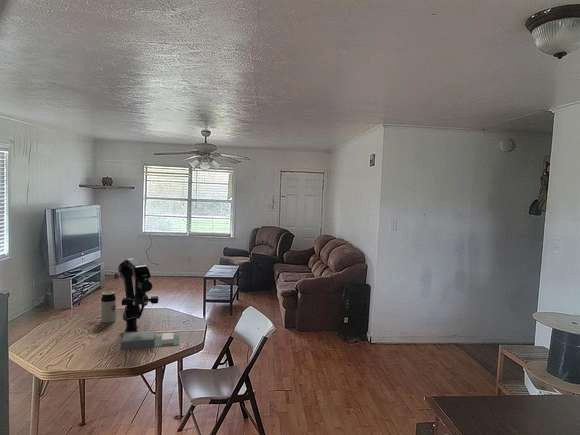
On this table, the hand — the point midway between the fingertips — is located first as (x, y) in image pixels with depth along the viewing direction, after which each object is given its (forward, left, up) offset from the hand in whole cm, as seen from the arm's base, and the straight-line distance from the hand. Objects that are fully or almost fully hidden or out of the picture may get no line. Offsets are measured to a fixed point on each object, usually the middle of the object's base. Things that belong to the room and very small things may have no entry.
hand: (140, 315), depth 210 cm
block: (+10, +15, -9) cm, 20 cm away
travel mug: (-32, -21, -12) cm, 40 cm away
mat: (+9, +14, -12) cm, 21 cm away
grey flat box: (+9, 0, -12) cm, 15 cm away
